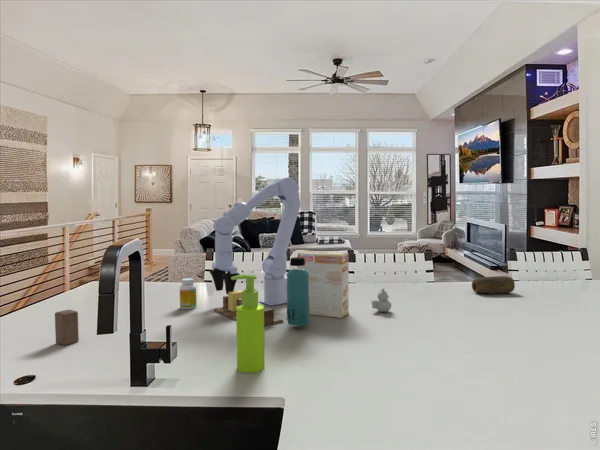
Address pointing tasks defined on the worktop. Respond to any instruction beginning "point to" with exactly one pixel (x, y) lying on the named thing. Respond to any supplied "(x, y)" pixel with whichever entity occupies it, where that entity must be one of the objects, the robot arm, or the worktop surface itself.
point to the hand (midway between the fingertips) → (224, 292)
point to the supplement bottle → (187, 294)
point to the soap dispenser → (250, 329)
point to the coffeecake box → (327, 282)
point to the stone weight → (493, 284)
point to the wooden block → (66, 327)
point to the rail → (233, 314)
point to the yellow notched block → (234, 299)
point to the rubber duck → (381, 302)
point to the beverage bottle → (297, 294)
